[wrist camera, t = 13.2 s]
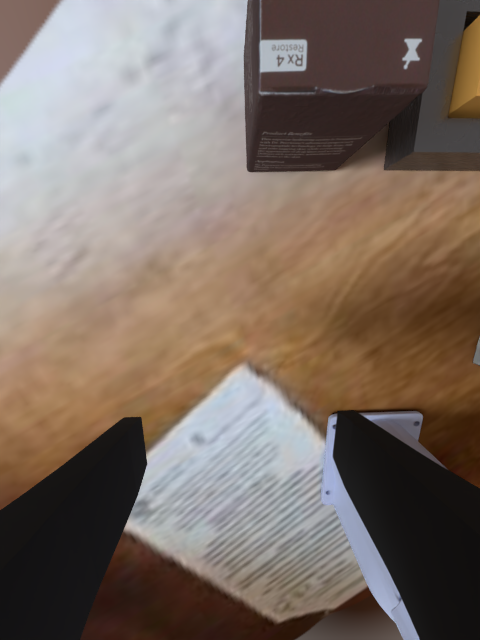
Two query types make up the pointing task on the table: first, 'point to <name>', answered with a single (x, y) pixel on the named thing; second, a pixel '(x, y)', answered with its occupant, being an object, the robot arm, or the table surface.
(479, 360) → the light grey rectangular frame
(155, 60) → the table surface
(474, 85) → the button
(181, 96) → the table surface
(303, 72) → the box
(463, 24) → the button housing
